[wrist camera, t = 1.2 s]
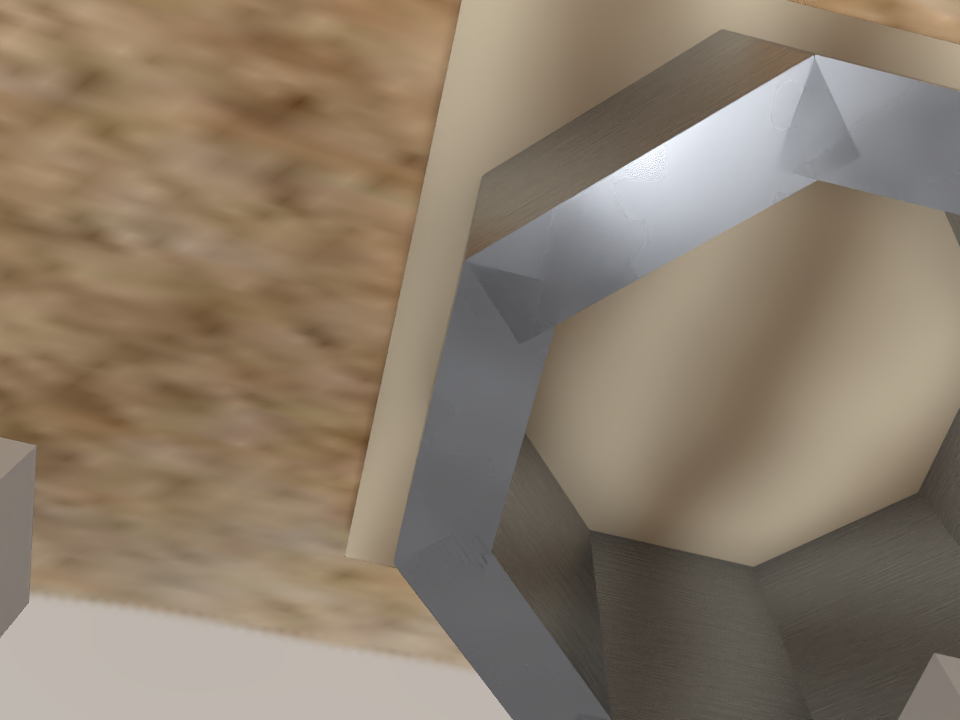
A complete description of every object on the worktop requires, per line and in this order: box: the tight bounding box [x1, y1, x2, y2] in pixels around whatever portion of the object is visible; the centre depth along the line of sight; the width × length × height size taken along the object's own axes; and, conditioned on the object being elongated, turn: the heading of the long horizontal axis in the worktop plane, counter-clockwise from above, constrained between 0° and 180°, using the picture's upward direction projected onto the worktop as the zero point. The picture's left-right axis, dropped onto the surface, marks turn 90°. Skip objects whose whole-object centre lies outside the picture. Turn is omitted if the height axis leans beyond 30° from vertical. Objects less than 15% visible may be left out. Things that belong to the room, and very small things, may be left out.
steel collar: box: [393, 29, 960, 720], centre depth 23 cm, size 17×17×8 cm
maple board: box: [345, 0, 960, 568], centre depth 27 cm, size 20×19×2 cm
